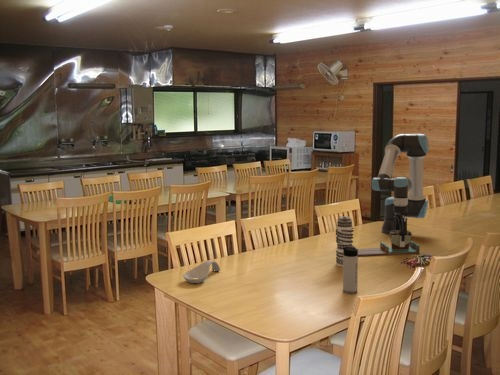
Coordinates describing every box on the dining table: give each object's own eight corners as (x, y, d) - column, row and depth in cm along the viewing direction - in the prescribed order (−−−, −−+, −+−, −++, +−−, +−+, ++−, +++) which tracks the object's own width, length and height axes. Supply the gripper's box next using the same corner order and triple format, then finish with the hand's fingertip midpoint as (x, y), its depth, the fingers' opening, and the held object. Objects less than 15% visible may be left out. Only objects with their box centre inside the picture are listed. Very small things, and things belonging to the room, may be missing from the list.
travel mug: (340, 289, 225) (340, 245, 222) (355, 288, 225) (355, 245, 223) (344, 294, 219) (344, 249, 216) (359, 293, 219) (359, 249, 216)
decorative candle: (356, 263, 263) (357, 216, 259) (347, 268, 256) (347, 219, 252) (341, 260, 269) (342, 214, 265) (332, 264, 262) (332, 217, 258)
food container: (409, 246, 287) (409, 229, 285) (411, 249, 281) (412, 232, 279) (387, 246, 288) (387, 229, 286) (389, 249, 282) (389, 232, 280)
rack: (350, 250, 288) (350, 242, 287) (410, 248, 291) (410, 240, 290) (356, 256, 276) (357, 248, 275) (419, 253, 279) (419, 245, 279)
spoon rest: (199, 287, 231) (198, 272, 230) (178, 284, 237) (178, 269, 236) (226, 273, 252) (225, 259, 251) (206, 270, 258) (205, 256, 257)
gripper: (387, 202, 290) (386, 241, 293) (400, 208, 271) (399, 250, 274) (400, 201, 291) (399, 240, 294) (414, 207, 271) (413, 249, 275)
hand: (399, 245), depth 284 cm, fingers open, 7 cm apart
